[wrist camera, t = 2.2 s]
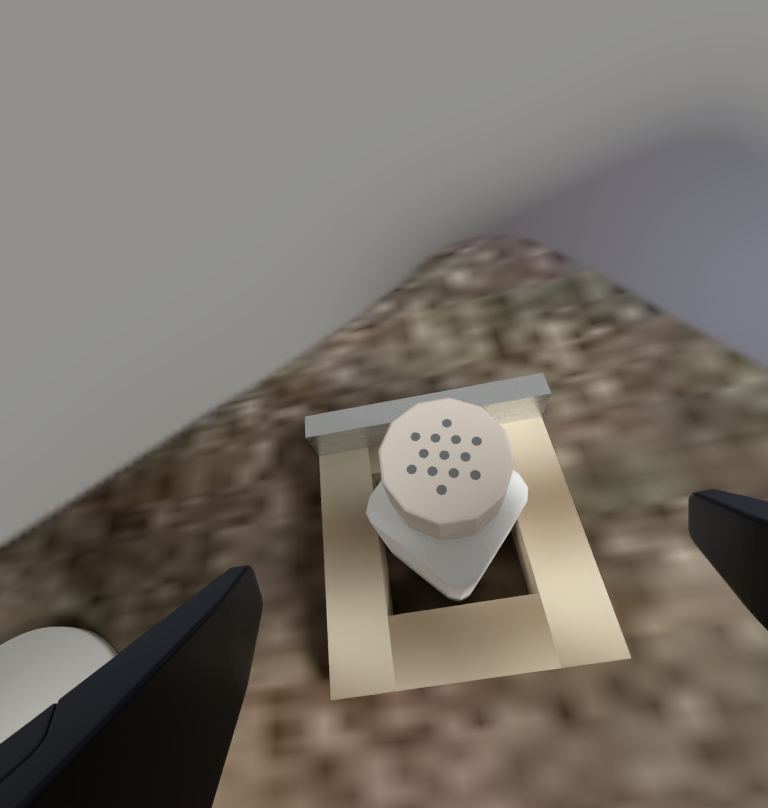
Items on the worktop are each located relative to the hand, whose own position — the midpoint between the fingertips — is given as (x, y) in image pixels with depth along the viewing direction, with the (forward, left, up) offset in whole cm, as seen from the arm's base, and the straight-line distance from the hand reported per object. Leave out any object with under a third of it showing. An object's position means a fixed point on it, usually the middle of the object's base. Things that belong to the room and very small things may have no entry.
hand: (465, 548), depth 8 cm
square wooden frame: (+2, +1, -10) cm, 10 cm away
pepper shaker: (+2, +1, -10) cm, 10 cm away
